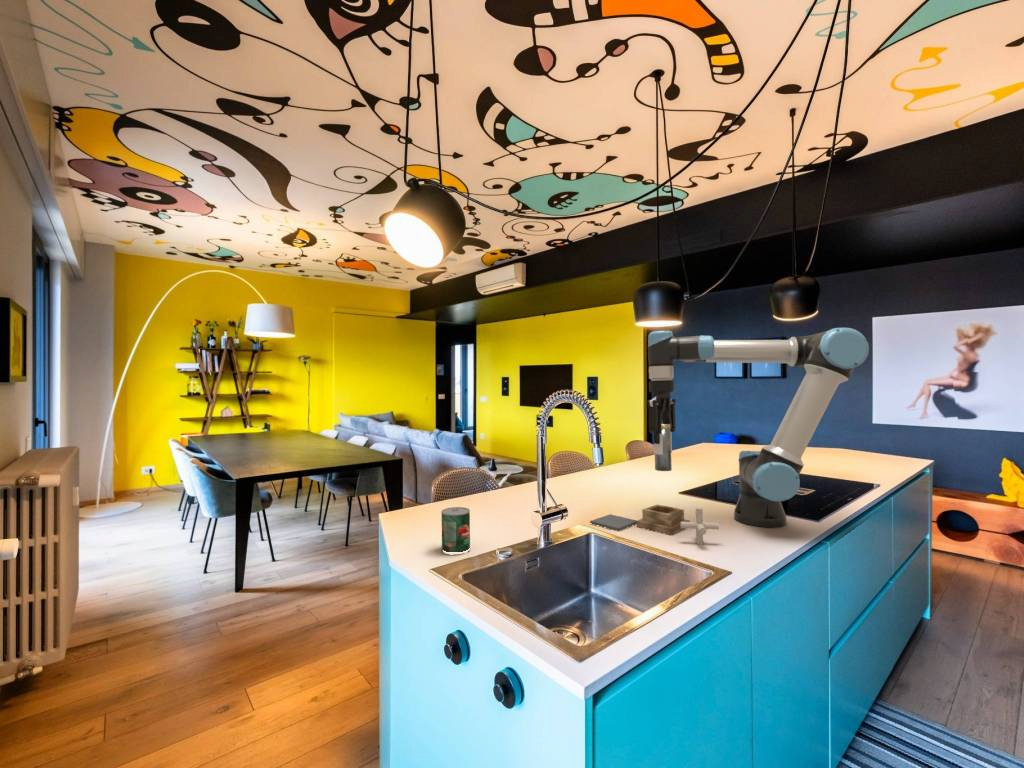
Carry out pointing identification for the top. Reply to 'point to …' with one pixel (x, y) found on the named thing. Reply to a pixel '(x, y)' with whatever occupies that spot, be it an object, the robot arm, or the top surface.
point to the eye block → (662, 519)
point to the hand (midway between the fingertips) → (663, 453)
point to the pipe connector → (699, 525)
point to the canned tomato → (455, 529)
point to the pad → (614, 522)
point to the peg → (664, 450)
